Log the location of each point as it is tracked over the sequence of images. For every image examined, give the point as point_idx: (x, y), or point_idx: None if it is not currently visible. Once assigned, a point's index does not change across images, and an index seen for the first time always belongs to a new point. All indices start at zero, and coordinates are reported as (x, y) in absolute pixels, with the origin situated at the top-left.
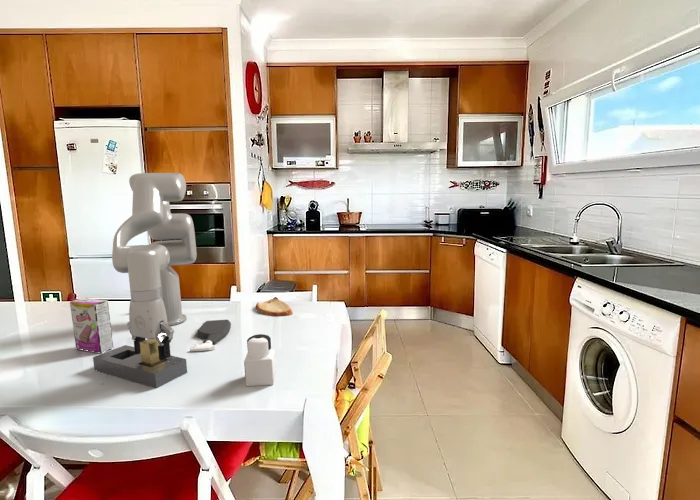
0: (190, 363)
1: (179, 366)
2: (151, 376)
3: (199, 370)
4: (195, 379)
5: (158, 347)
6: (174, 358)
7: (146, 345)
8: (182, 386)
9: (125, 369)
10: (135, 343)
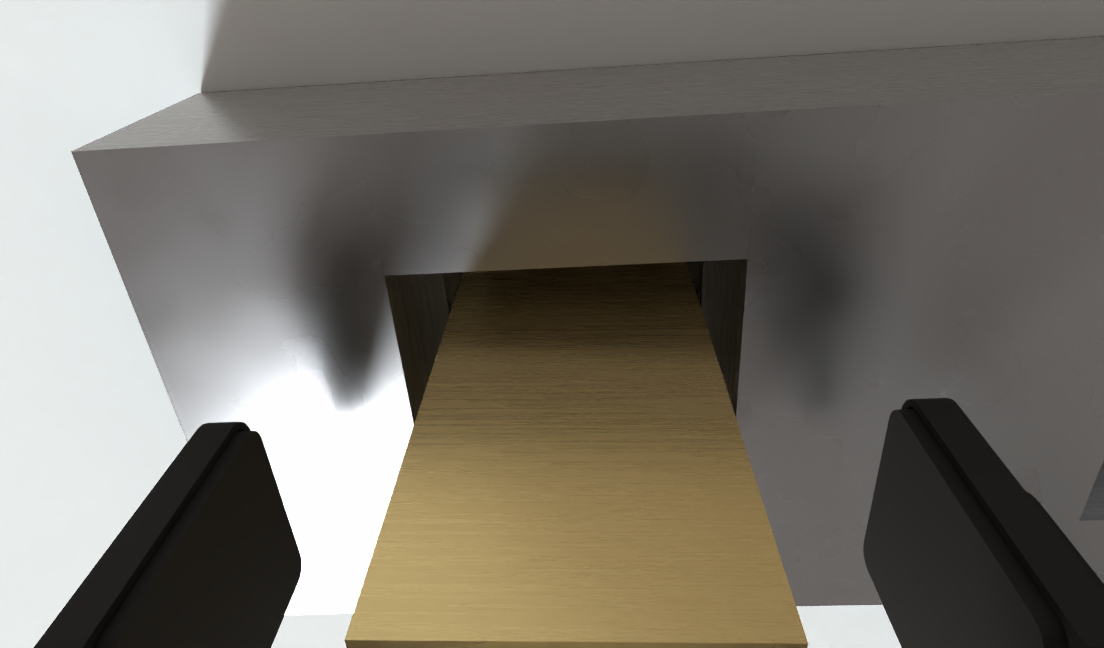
0: None
1: None
2: (207, 128)
3: None
4: (87, 427)
5: (80, 629)
6: None
7: (479, 596)
8: (13, 271)
9: (883, 85)
10: (1036, 587)
